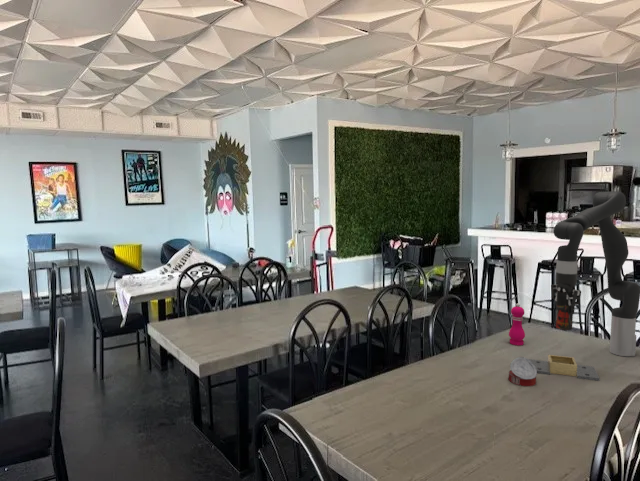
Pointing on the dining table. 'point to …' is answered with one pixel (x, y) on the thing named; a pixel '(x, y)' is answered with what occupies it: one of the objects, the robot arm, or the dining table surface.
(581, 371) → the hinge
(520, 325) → the pepper mill
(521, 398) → the dining table surface
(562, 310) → the deodorant
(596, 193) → the robot arm
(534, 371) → the canned food
